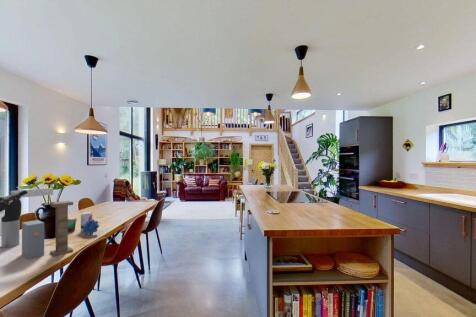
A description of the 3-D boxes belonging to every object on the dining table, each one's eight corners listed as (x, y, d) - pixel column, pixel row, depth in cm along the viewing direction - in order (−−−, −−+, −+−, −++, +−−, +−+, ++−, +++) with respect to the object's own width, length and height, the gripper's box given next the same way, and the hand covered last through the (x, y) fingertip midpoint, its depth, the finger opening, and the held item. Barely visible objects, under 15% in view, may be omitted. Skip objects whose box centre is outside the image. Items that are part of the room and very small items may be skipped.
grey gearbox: (21, 254, 153) (22, 222, 153) (37, 250, 160) (38, 220, 160) (28, 259, 146) (28, 225, 146) (44, 255, 152) (44, 222, 152)
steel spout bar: (10, 197, 146) (10, 191, 146) (51, 194, 162) (51, 188, 162) (12, 198, 144) (12, 191, 144) (53, 194, 160) (53, 188, 160)
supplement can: (94, 229, 207) (94, 211, 208) (88, 232, 199) (88, 214, 199) (84, 229, 207) (84, 212, 207) (78, 232, 199) (78, 214, 199)
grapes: (100, 232, 199) (100, 217, 199) (98, 235, 193) (98, 219, 193) (83, 234, 195) (83, 219, 195) (81, 236, 189) (81, 221, 189)
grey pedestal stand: (50, 253, 155) (50, 202, 155) (68, 248, 163) (68, 200, 163) (54, 256, 150) (54, 204, 150) (73, 251, 158) (73, 201, 158)
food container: (56, 233, 198) (56, 220, 198) (60, 231, 204) (60, 219, 204) (74, 232, 201) (74, 219, 201) (76, 229, 207) (76, 218, 207)
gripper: (-7, 212, 144) (26, 195, 156) (-2, 215, 135) (33, 197, 147) (-16, 202, 141) (18, 185, 153) (-11, 205, 132) (25, 186, 144)
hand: (25, 191), depth 150 cm, fingers closed on steel spout bar, 4 cm apart
